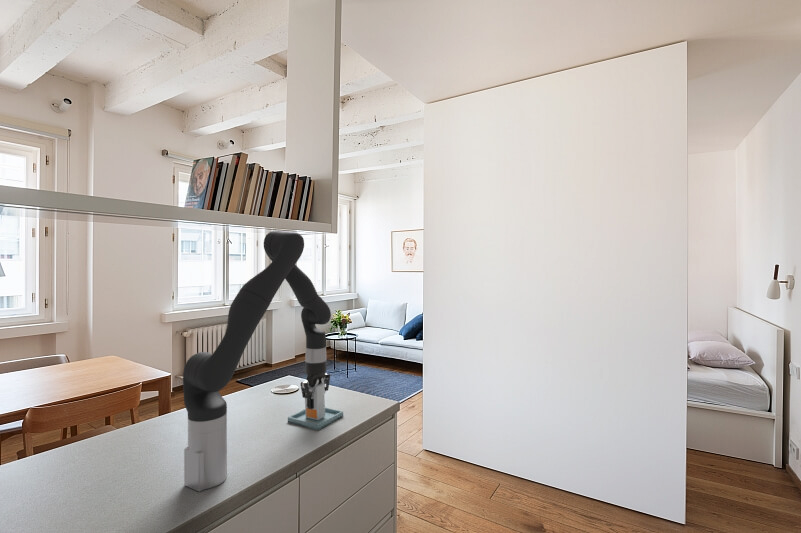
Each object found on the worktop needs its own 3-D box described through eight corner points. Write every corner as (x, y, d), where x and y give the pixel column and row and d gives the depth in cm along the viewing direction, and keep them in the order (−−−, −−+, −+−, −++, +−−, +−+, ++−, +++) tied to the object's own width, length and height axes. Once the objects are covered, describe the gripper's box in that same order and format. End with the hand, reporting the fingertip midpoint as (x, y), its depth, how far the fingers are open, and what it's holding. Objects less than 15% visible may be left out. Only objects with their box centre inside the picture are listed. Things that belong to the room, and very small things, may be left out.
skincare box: (305, 418, 144) (303, 385, 144) (313, 414, 148) (311, 381, 148) (318, 420, 141) (316, 387, 141) (325, 416, 145) (324, 383, 145)
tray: (318, 430, 135) (318, 425, 135) (287, 422, 142) (287, 417, 142) (343, 416, 148) (343, 411, 148) (314, 409, 154) (314, 404, 154)
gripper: (310, 365, 136) (310, 414, 137) (336, 356, 149) (336, 402, 149) (294, 362, 140) (294, 410, 140) (320, 354, 153) (320, 398, 153)
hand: (315, 406), depth 145 cm, fingers open, 5 cm apart
